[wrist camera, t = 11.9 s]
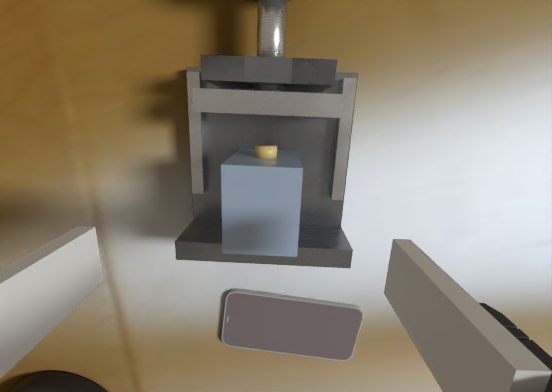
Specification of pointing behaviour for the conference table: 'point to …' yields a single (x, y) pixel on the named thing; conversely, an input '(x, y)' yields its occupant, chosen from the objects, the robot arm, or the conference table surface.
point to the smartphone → (290, 324)
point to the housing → (261, 202)
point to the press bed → (287, 137)
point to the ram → (266, 95)
